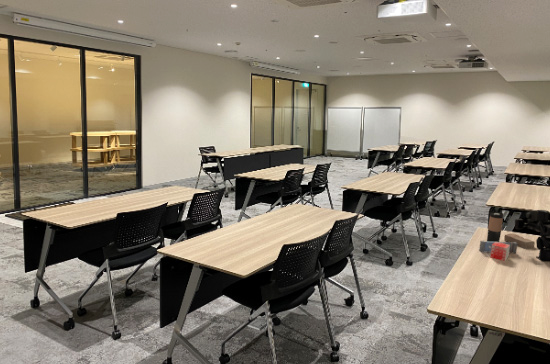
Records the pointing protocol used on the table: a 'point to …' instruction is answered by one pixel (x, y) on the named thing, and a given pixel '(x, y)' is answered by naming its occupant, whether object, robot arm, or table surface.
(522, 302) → the table surface
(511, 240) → the brick
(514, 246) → the door frame
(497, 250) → the red white patterned box
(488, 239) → the travel mug
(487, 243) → the door
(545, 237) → the robot arm
